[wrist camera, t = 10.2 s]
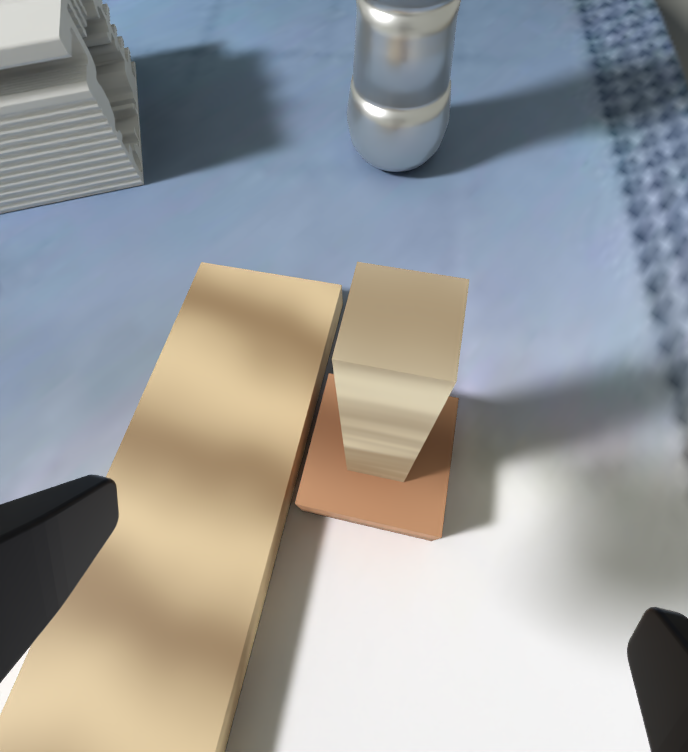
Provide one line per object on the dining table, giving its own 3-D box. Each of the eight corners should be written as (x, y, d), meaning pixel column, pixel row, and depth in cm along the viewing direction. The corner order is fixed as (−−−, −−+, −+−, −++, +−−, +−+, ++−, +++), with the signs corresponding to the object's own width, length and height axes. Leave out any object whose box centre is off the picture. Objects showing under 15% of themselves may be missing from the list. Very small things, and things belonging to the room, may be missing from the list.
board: (212, 799, 15) (194, 827, 14) (20, 736, 16) (-18, 755, 15) (342, 304, 24) (341, 285, 22) (211, 282, 25) (201, 262, 23)
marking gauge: (431, 540, 19) (553, 500, 7) (302, 510, 20) (213, 427, 8) (448, 415, 21) (559, 227, 9) (332, 393, 22) (298, 190, 10)
